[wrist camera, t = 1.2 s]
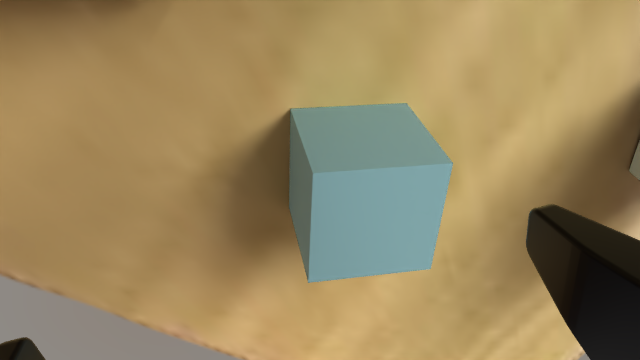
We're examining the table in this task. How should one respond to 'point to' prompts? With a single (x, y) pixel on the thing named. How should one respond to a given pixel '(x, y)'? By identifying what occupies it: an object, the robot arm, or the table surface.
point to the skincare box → (636, 163)
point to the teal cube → (365, 190)
